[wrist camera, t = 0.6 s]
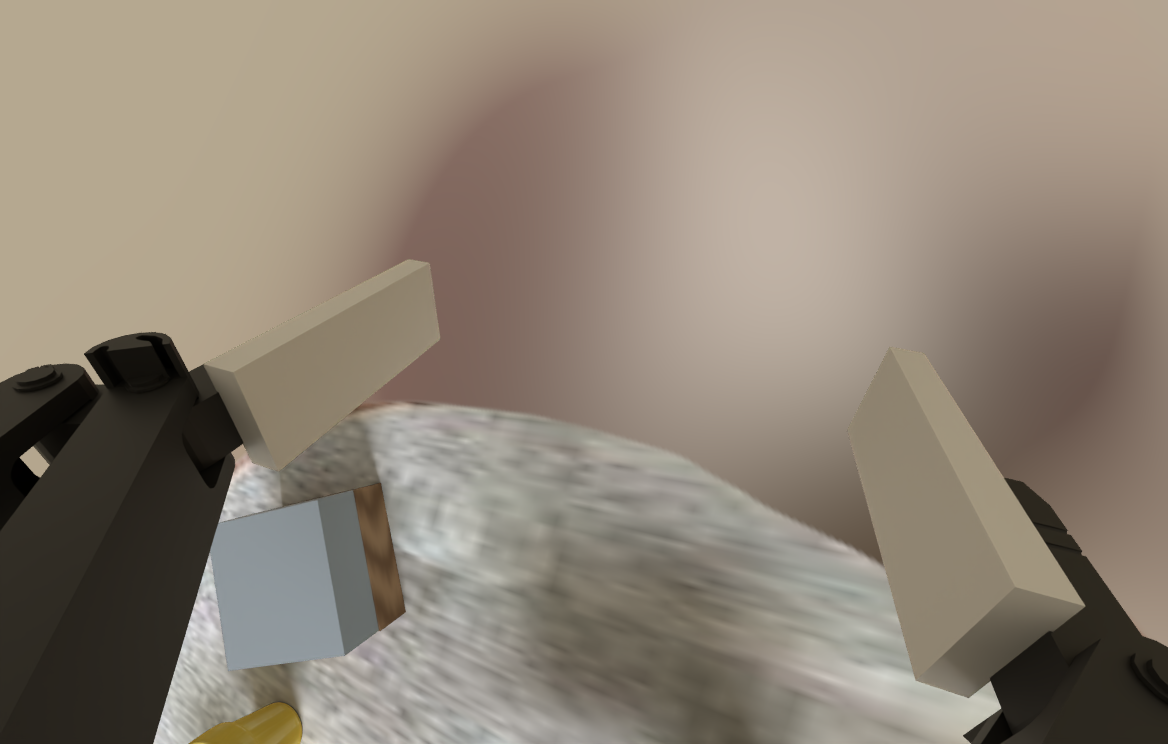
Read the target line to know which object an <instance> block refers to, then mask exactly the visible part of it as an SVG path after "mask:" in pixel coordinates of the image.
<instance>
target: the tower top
mask: <svg viewBox="0 0 1168 744" xmlns="http://www.w3.org/2000/svg"><path fill="white" fill-rule="evenodd" d="M210 553H211V560H212V567H213V573H214V580H215V587H216V593H217V600H218V607H219V613H220V620H221V627H222V634H223V640H224V647H225V654H226V660H227V667H228V671H231V670H239V669H246V668H254V667H262V666H269V665H277V664H285V663H292V662H300V661H308V660H315V659H323V658H331V657H338V656H345V655H346V654H348V653H349V652H350V651H352V650H353V649H354V648H356V647H357V646H359V645H360V644H361V643H363V642H364V641H365V640H367V639H368V638H369V637H371V636H372V635H373V634H375V633H376V632H377V631H379V628H378V622H377V617H376V611H375V606H374V601H373V595H372V590H371V584H370V579H369V574H368V568H367V563H366V557H365V552H364V547H363V541H362V536H361V530H360V525H359V520H358V514H357V509H356V503H355V498H354V493H353V490H351V491H347V492H342V493H338V494H334V495H330V496H326V497H321V498H317V499H313V500H309V501H305V502H301V503H296V504H292V505H288V506H284V507H280V508H275V509H271V510H267V511H263V512H259V513H254V514H250V515H246V516H243V517H239V518H235V519H232V520H228V521H224V522H221V523H218V526H217V529H216V532H215V536H214V539H213V543H212V546H211V549H210Z"/></svg>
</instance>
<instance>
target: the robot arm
mask: <svg viewBox="0 0 1168 744" xmlns="http://www.w3.org/2000/svg"><path fill="white" fill-rule="evenodd" d="M439 340H440V333H439V326H438V319H437V312H436V305H435V298H434V291H433V284H432V277H431V269H430V263H427V262H422V261H416V260H411V259H408V260H406V261H404V262H402V263H400V264H398V265H396V266H394V267H392V268H390V269H388V270H386V271H384V272H382V273H380V274H379V275H376V276H375V277H373V278H371V279H369V280H367V281H365V282H363V283H361V284H359V285H357V286H355V287H353V288H351V289H349V290H347V291H345V292H343V293H341V294H339V295H337V296H335V297H333V298H331V299H330V300H328V301H326V302H324V303H322V304H320V305H318V306H316V307H314V308H312V309H310V310H308V311H306V312H304V313H302V314H300V315H298V316H296V317H294V318H292V319H290V320H288V321H286V322H285V323H283V324H281V325H279V326H277V327H275V328H273V329H271V330H269V331H267V332H265V333H263V334H261V335H259V336H257V337H255V338H253V339H252V340H249V341H247V342H245V343H243V344H241V345H239V346H237V347H235V348H234V349H232V350H230V351H228V352H226V353H224V354H222V355H220V356H218V357H216V358H214V359H212V360H210V361H208V362H206V363H204V364H203V365H201V366H199V367H197V368H195V369H193V370H191V371H190V372H188V370H187V368H186V366H185V364H184V362H183V360H182V358H181V356H180V355H179V353H178V351H177V349H176V347H175V346H174V343H173V341H172V339H171V338H170V337H169V336H167V335H166V334H162V333H156V332H151V333H150V332H149V333H137V334H131V335H125V336H121V337H118V338H114V339H111V340H108V341H105V342H103V343H101V344H99V345H97V346H94V347H92V348H91V349H90V350H88V351H87V352H86V353H84V355H85V356H86V358H87V359H88V361H89V362H90V364H91V365H92V367H93V368H94V370H95V371H96V373H97V374H98V376H99V377H100V379H101V380H102V382H103V383H104V385H95V384H94V382H93V381H92V379H91V378H90V376H89V375H88V373H87V372H86V370H85V369H84V368H83V367H81V366H79V365H77V364H57V365H51V364H50V365H44V366H41V367H40V368H39V367H35V368H31V369H28V370H27V371H25V372H23V373H20V374H18V375H15V376H13V377H11V378H9V379H7V380H5V381H3V382H1V383H0V744H153V742H154V739H155V735H156V732H157V729H158V725H159V722H160V718H161V715H162V712H163V708H164V705H165V701H166V698H167V695H168V691H169V688H170V685H171V681H172V678H173V674H174V671H175V668H176V664H177V661H178V657H179V654H180V651H181V647H182V644H183V641H184V637H185V634H186V630H187V627H188V624H189V620H190V617H191V614H192V610H193V607H194V603H195V600H196V597H197V593H198V590H199V586H200V583H201V580H202V576H203V573H204V570H205V566H206V563H207V559H208V556H209V553H210V549H211V546H212V543H213V539H214V536H215V532H216V529H217V526H218V522H219V519H220V515H221V512H222V509H223V505H224V502H225V499H226V495H227V492H228V488H229V485H230V482H231V478H232V475H233V471H234V468H235V459H234V457H233V455H232V454H231V452H232V451H233V450H235V449H236V448H237V447H239V446H240V445H242V444H243V445H244V447H245V449H246V451H247V453H248V455H249V457H250V459H251V461H252V463H254V464H257V465H260V466H263V467H266V468H269V469H272V470H276V471H280V470H281V469H283V468H284V467H285V466H286V465H287V464H289V463H290V462H291V461H292V460H293V459H295V458H296V457H297V456H298V455H300V454H301V453H302V452H303V451H304V450H306V449H307V448H308V447H309V446H311V445H312V444H313V443H314V442H315V441H317V440H318V439H319V438H320V437H322V436H323V435H324V434H325V433H326V432H328V431H329V430H330V429H331V428H333V427H334V426H335V425H336V424H337V423H339V422H340V421H341V420H342V419H344V418H345V417H346V416H347V415H348V414H350V413H351V412H352V411H353V410H354V409H356V408H357V407H358V406H359V405H361V404H362V403H363V402H364V401H365V400H367V399H368V398H369V397H370V396H372V395H373V394H374V393H375V392H376V391H378V390H379V389H380V388H381V387H382V386H384V385H385V384H386V383H387V382H389V381H390V380H391V379H392V378H394V377H395V376H396V375H397V374H398V373H400V372H401V371H402V370H403V369H404V368H406V367H407V366H408V365H409V364H411V363H412V362H413V361H414V360H415V359H417V358H418V357H419V356H420V355H422V354H423V353H424V352H425V351H426V350H428V349H429V348H430V347H431V346H433V345H434V344H435V343H436V342H437V341H439ZM847 432H848V435H849V439H850V443H851V446H852V450H853V454H854V457H855V461H856V465H857V468H858V472H859V476H860V479H861V483H862V486H863V490H864V494H865V497H866V501H867V505H868V508H869V512H870V515H871V519H872V523H873V527H874V530H875V534H876V538H877V541H878V545H879V548H880V552H881V556H882V559H883V563H884V567H885V570H886V574H887V578H888V581H889V585H890V589H891V592H892V596H893V599H894V603H895V607H896V610H897V614H898V618H899V621H900V625H901V629H902V632H903V636H904V640H905V643H906V647H907V651H908V654H909V658H910V661H911V665H912V669H913V672H914V676H915V680H916V681H919V682H922V683H925V684H928V685H931V686H934V687H937V688H940V689H943V690H946V691H949V692H952V693H955V694H958V695H961V696H964V697H967V698H969V697H971V696H972V695H973V694H974V693H976V692H977V691H978V690H979V689H981V688H982V687H983V686H985V685H986V684H987V683H988V682H990V681H991V683H992V685H993V688H994V690H995V693H996V695H997V698H998V700H999V703H1000V705H1001V709H1000V710H999V711H997V712H996V713H994V714H993V715H991V716H990V717H989V718H987V719H986V720H984V721H983V722H982V723H980V724H979V725H977V726H976V727H974V728H973V729H972V730H970V731H969V732H967V733H966V734H965V735H963V736H964V737H965V738H966V739H967V740H968V741H969V742H970V743H971V744H1168V647H1166V646H1164V645H1163V644H1161V643H1159V642H1157V641H1155V640H1152V639H1149V638H1146V637H1143V636H1142V635H1141V634H1140V632H1139V631H1138V629H1137V628H1136V626H1135V625H1134V624H1133V622H1132V621H1131V619H1130V618H1129V617H1128V615H1127V614H1126V612H1125V611H1124V610H1123V608H1122V607H1121V605H1120V604H1119V602H1118V601H1117V600H1116V598H1115V597H1114V595H1113V594H1112V593H1111V591H1110V590H1109V588H1108V587H1107V585H1106V584H1105V583H1104V581H1103V580H1102V578H1101V577H1100V576H1099V574H1098V573H1097V571H1096V570H1095V569H1094V567H1093V566H1092V564H1091V563H1090V561H1089V560H1088V559H1087V557H1086V556H1082V555H1081V552H1082V550H1081V549H1080V547H1079V546H1078V544H1077V543H1076V542H1075V540H1074V539H1073V538H1072V536H1071V535H1068V534H1067V529H1066V528H1065V526H1064V525H1063V523H1062V522H1061V520H1060V519H1059V518H1058V516H1057V515H1056V513H1055V512H1054V510H1053V509H1052V508H1051V506H1050V505H1049V504H1047V503H1046V502H1045V501H1044V500H1043V499H1042V498H1041V497H1039V496H1038V495H1037V494H1036V493H1035V492H1034V491H1033V490H1031V489H1030V488H1029V487H1028V486H1026V484H1024V483H1023V482H1021V481H1016V480H1012V479H1008V478H1003V476H1002V475H1001V473H1000V472H999V470H998V468H997V467H996V465H995V464H994V462H993V461H992V459H991V457H990V456H989V454H988V453H987V451H986V449H985V448H984V446H983V445H982V443H981V442H980V440H979V439H978V437H977V436H976V434H975V432H974V431H973V429H972V428H971V426H970V425H969V423H968V421H967V420H966V418H965V417H964V415H963V414H962V412H961V410H960V409H959V407H958V406H957V404H956V402H955V401H954V399H953V398H952V396H951V395H950V393H949V392H948V390H947V389H946V387H945V385H944V384H943V382H942V381H941V379H940V378H939V376H938V374H937V373H936V371H935V370H934V368H933V367H932V365H931V363H930V362H929V360H928V359H927V357H926V356H925V354H924V353H920V352H915V351H909V350H904V349H899V348H893V347H889V349H888V351H887V353H886V355H885V357H884V359H883V361H882V363H881V365H880V367H879V369H878V371H877V373H876V375H875V376H874V379H873V380H872V382H871V384H870V386H869V388H868V390H867V392H866V394H865V396H864V398H863V400H862V402H861V404H860V406H859V408H858V410H857V412H856V414H855V416H854V418H853V420H852V422H851V424H850V426H849V427H848V429H847ZM32 446H34V447H35V449H37V451H38V452H39V453H40V454H41V455H42V457H43V458H44V459H45V460H46V461H47V463H48V464H49V465H50V466H49V467H48V468H47V470H46V471H45V472H44V474H43V475H42V476H41V478H40V477H38V476H36V475H35V474H34V473H33V472H32V471H31V470H30V469H29V468H28V466H27V465H26V464H25V463H24V462H23V461H22V460H21V459H20V458H19V457H20V456H21V455H23V454H24V453H25V452H26V451H27V450H29V449H30V448H31V447H32Z"/></svg>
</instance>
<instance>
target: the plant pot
mask: <svg viewBox="0 0 1168 744" xmlns="http://www.w3.org/2000/svg"><path fill="white" fill-rule="evenodd" d="M301 738H302V725H301V721H300V718H299V716H298V714H297V713H296V712H295V710H294V709H293V708H292V707H291V706H289V705H288V704H285V703H281V702H276V703H272V704H270V705H268V706H266V707H264V708H261V709H259V710H257V711H255V712H253V713H251V714H249V715H247V716H245V717H242V718H240V719H238V720H236V721H234V722H225V723H221V724H218V725H216V726H214V727H213V728H211V729H209V730H208V731H206V732H205V733H203V734H202V735H200V736H199V737H197V738H196V739H194V740H193V741H192V742H190V743H189V744H300V741H301Z"/></svg>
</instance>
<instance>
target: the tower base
mask: <svg viewBox="0 0 1168 744" xmlns="http://www.w3.org/2000/svg"><path fill="white" fill-rule="evenodd" d="M349 491H351V490H349ZM345 492H347V491H345ZM341 493H342V492H341ZM353 493H354V498H355V503H356V509H357V514H358V520H359V525H360V530H361V536H362V541H363V547H364V552H365V557H366V563H367V568H368V574H369V579H370V584H371V590H372V595H373V601H374V606H375V611H376V617H377V622H378V628H379V631H381V630H382V629H384V628H385V627H386V626H388V625H389V624H390V623H392V622H393V621H394V620H396V619H397V618H398V617H400V616H401V615H402V614H404V613H405V612H406V611H405V606H404V600H403V595H402V590H401V585H400V580H399V575H398V570H397V564H396V559H395V554H394V549H393V544H392V539H391V534H390V528H389V523H388V518H387V513H386V508H385V503H384V498H383V492H382V487H381V483H378V484H374V485H370V486H366V487H362V488H357V489H353ZM337 494H338V493H337ZM332 495H334V494H332ZM328 496H330V495H328ZM324 497H326V496H324ZM320 498H321V497H320ZM316 499H317V498H316ZM312 500H313V499H312ZM307 501H309V500H307ZM303 502H305V501H303ZM299 503H301V502H299ZM295 504H296V503H295ZM291 505H292V504H291ZM287 506H288V505H287ZM282 507H284V506H282ZM279 508H280V507H279Z"/></svg>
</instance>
